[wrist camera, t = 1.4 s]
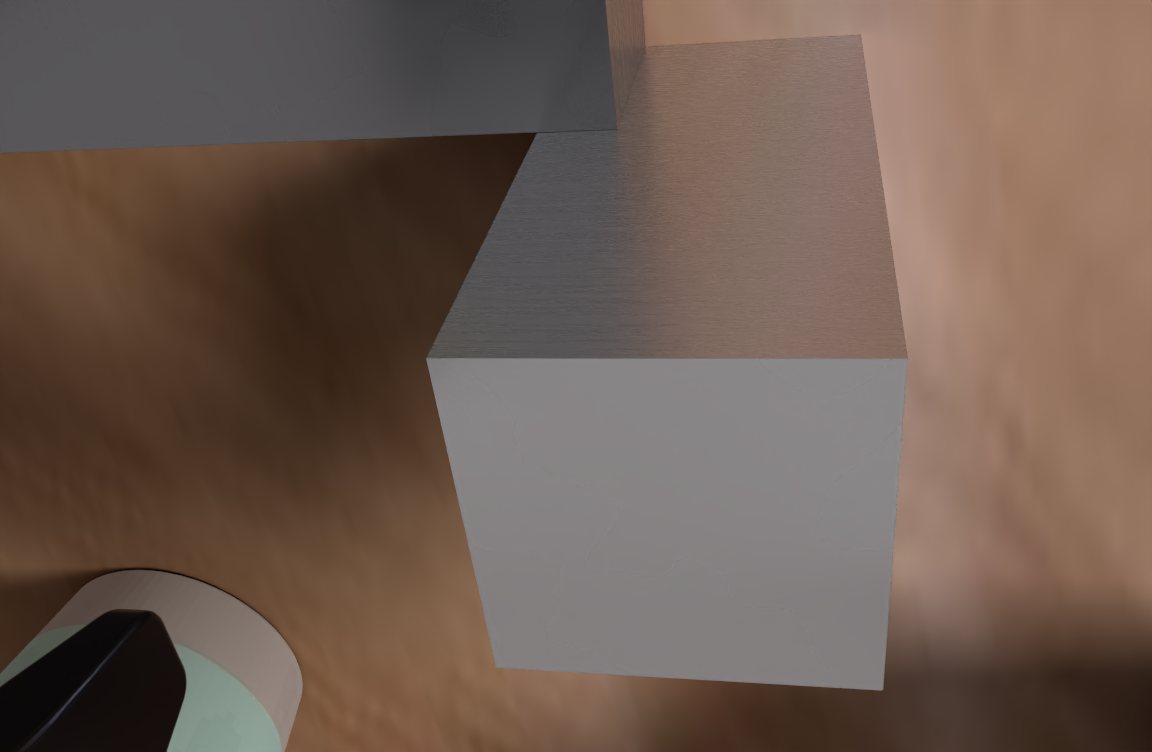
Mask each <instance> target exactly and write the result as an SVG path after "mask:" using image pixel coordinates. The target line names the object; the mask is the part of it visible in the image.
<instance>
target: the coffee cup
mask: <svg viewBox="0 0 1152 752" xmlns="http://www.w3.org/2000/svg"><path fill="white" fill-rule="evenodd" d="M113 609H134V610H149V611H153V612H155V613H156V614H157V615H158V616H160V618H161V619H162V621H163V623H164V625H165V627H166V629H167V631H168V633H169V636H170V638H171V640H172V642H173V644H174V646H175V648H176V651H177V653H178V655H179V657H180V659H181V661H182V664H183V666H184V669H185V672H186V679H187V686H186V693H185V698H184V701H183V704H182V708H181V711H180V714H179V717H178V720H177V723H176V726H175V729H174V732H173V735H172V738H171V741H170V744H169V747H168V750H167V752H285V749H286V746H287V742H288V739H289V736H290V732H291V729H292V726H293V723H294V719H295V716H296V713H297V709H298V706H299V703H300V700H301V696H302V688H303V683H302V676H301V671H300V668H299V665H298V663H297V660H296V658H295V656H294V654H293V652H292V651H291V649H290V647H289V646H288V644H287V643H286V642H285V640H284V639H283V638H282V636H281V635H280V634H279V633H278V632H277V631H276V629H275V628H274V627H273V626H272V625H271V624H270V623H268V622H267V621H266V620H265V619H264V618H263V617H262V616H261V615H259V614H258V613H257V612H256V611H254V610H253V609H252V608H250V607H249V606H247V605H246V604H244V603H243V602H241V601H240V600H238V599H236V598H235V597H233V596H231V595H229V594H228V593H226V592H224V591H221V590H219V589H217V588H215V587H213V586H211V585H208V584H206V583H203V582H200V581H198V580H195V579H192V578H188V577H185V576H181V575H177V574H172V573H167V572H161V571H152V570H128V571H119V572H114V573H110V574H107V575H103V576H101V577H98V578H96V579H94V580H92V581H90V582H89V583H87V584H86V585H85V586H83V587H82V588H81V589H80V590H79V591H78V592H77V593H76V594H75V595H74V596H73V597H72V599H71V600H70V601H69V602H68V603H67V604H66V605H65V606H64V607H63V608H62V609H61V610H60V611H59V612H58V613H57V614H56V615H55V616H54V617H53V619H52V620H51V621H50V622H49V623H48V624H47V625H46V626H45V627H44V628H43V629H42V630H41V631H40V632H39V633H38V634H37V635H36V636H35V638H34V639H33V640H32V641H31V642H30V643H29V644H28V645H27V646H26V647H25V648H24V649H23V650H22V651H21V652H20V653H19V654H18V655H17V656H16V657H15V659H14V660H13V661H12V662H11V663H10V664H9V665H8V666H7V667H6V668H5V669H4V670H3V671H2V672H1V674H0V686H1V685H3V684H4V683H6V682H7V681H8V680H10V679H11V678H13V677H14V676H15V675H17V674H18V673H20V672H21V671H23V670H24V669H25V668H27V667H28V666H30V665H31V664H32V663H34V662H35V661H37V660H38V659H39V658H41V657H42V656H44V655H45V654H47V653H48V652H49V651H51V650H52V649H54V648H55V647H56V646H58V645H59V644H61V643H62V642H63V641H65V640H66V639H68V638H69V637H71V636H72V635H73V634H75V633H76V632H78V631H79V630H80V629H82V628H83V627H85V626H86V625H87V624H89V623H90V622H92V621H93V620H95V619H96V618H97V617H99V616H100V615H102V614H104V613H105V612H107V611H110V610H113Z"/></svg>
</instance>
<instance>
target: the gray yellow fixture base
mask: <svg viewBox="0 0 1152 752" xmlns="http://www.w3.org/2000/svg"><path fill="white" fill-rule="evenodd" d="M644 50H645V36H644V22H643V8H642V0H0V153H12V152H38V151H64V150H90V149H116V148H142V147H168V146H194V145H220V144H246V143H272V142H298V141H324V140H350V139H376V138H402V137H428V136H454V135H480V134H506V133H532V132H558V131H584V130H610V129H617V128H618V125H619V122H620V119H621V117H622V114H623V111H624V108H625V105H626V102H627V99H628V96H629V93H630V90H631V88H632V85H633V82H634V79H635V76H636V73H637V70H638V67H639V64H640V61H641V59H642V56H643V53H644Z"/></svg>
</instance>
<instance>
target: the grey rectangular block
mask: <svg viewBox="0 0 1152 752" xmlns="http://www.w3.org/2000/svg"><path fill="white" fill-rule="evenodd" d="M426 360H427V364H428V369H429V373H430V378H431V382H432V386H433V391H434V395H435V400H436V404H437V408H438V413H439V417H440V422H441V426H442V430H443V435H444V439H445V444H446V448H447V453H448V457H449V461H450V466H451V470H452V475H453V479H454V483H455V488H456V492H457V497H458V501H459V505H460V510H461V514H462V519H463V523H464V528H465V532H466V536H467V541H468V545H469V550H470V554H471V558H472V563H473V567H474V572H475V576H476V580H477V585H478V589H479V594H480V598H481V603H482V607H483V611H484V616H485V620H486V625H487V629H488V633H489V638H490V642H491V647H492V651H493V655H494V660H495V664H496V668H511V669H528V670H545V671H562V672H579V673H596V674H612V675H629V676H646V677H663V678H680V679H697V680H714V681H730V682H747V683H764V684H781V685H798V686H815V687H832V688H848V689H865V690H882V691H883V683H884V670H885V657H886V643H887V630H888V617H889V603H890V590H891V577H892V563H893V550H894V537H895V523H896V510H897V497H898V483H899V470H900V457H901V443H902V430H903V417H904V403H905V390H906V377H907V363H908V357H907V350H906V343H905V336H904V329H903V322H902V315H901V308H900V301H899V295H898V288H897V281H896V274H895V267H894V260H893V253H892V246H891V239H890V233H889V226H888V219H887V212H886V205H885V198H884V191H883V184H882V177H881V171H880V164H879V157H878V150H877V143H876V136H875V129H874V122H873V115H872V109H871V102H870V95H869V88H868V81H867V74H866V67H865V60H864V53H863V47H862V40H861V35H848V36H831V37H813V38H795V39H777V40H760V41H742V42H724V43H706V44H689V45H671V46H653V47H645V50H644V53H643V56H642V59H641V61H640V64H639V67H638V70H637V73H636V76H635V79H634V82H633V85H632V88H631V90H630V93H629V96H628V99H627V102H626V105H625V108H624V111H623V114H622V117H621V119H620V122H619V125H618V128H617V129H610V130H584V131H558V132H537V134H536V136H535V138H534V140H533V142H532V144H531V146H530V148H529V150H528V152H527V154H526V156H525V158H524V160H523V162H522V164H521V166H520V168H519V171H518V173H517V175H516V177H515V179H514V181H513V183H512V185H511V187H510V189H509V191H508V193H507V195H506V197H505V199H504V201H503V203H502V205H501V207H500V209H499V211H498V213H497V215H496V217H495V219H494V221H493V223H492V225H491V227H490V230H489V232H488V234H487V236H486V238H485V240H484V242H483V244H482V246H481V248H480V250H479V252H478V254H477V256H476V258H475V260H474V262H473V264H472V266H471V268H470V270H469V272H468V274H467V276H466V278H465V280H464V282H463V284H462V287H461V289H460V291H459V293H458V295H457V297H456V299H455V301H454V303H453V305H452V307H451V309H450V311H449V313H448V315H447V317H446V319H445V321H444V323H443V325H442V327H441V329H440V331H439V333H438V335H437V337H436V339H435V341H434V343H433V346H432V348H431V350H430V352H429V354H428V356H427V358H426Z"/></svg>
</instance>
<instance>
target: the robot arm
mask: <svg viewBox="0 0 1152 752" xmlns="http://www.w3.org/2000/svg"><path fill="white" fill-rule="evenodd" d="M186 686H187V679H186V672H185V669H184V666H183V664H182V661H181V659H180V657H179V655H178V653H177V651H176V648H175V646H174V644H173V642H172V640H171V638H170V636H169V633H168V631H167V629H166V627H165V625H164V623H163V621H162V619H161V618H160V616H158V615H157V614H156V613H155V612H153V611H149V610H134V609H113V610H110V611H107V612H105V613H104V614H102V615H100V616H99V617H97V618H96V619H95V620H93V621H92V622H90V623H89V624H87V625H86V626H85V627H83V628H82V629H80V630H79V631H78V632H76V633H75V634H73V635H72V636H71V637H69V638H68V639H66V640H65V641H63V642H62V643H61V644H59V645H58V646H56V647H55V648H54V649H52V650H51V651H49V652H48V653H47V654H45V655H44V656H42V657H41V658H39V659H38V660H37V661H35V662H34V663H32V664H31V665H30V666H28V667H27V668H25V669H24V670H23V671H21V672H20V673H18V674H17V675H15V676H14V677H13V678H11V679H10V680H8V681H7V682H6V683H4V684H3V685H1V686H0V752H167V750H168V747H169V744H170V741H171V738H172V735H173V732H174V729H175V726H176V723H177V720H178V717H179V714H180V711H181V708H182V704H183V701H184V698H185V693H186Z"/></svg>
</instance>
